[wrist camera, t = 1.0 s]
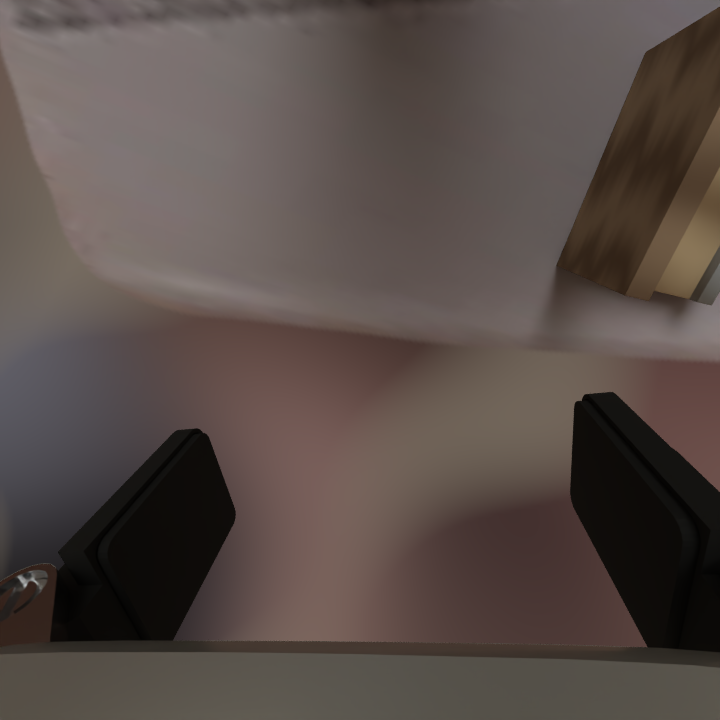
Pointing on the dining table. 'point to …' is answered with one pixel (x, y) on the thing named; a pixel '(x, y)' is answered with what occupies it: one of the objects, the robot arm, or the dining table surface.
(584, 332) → the dining table surface
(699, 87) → the cleat board
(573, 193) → the dining table surface
